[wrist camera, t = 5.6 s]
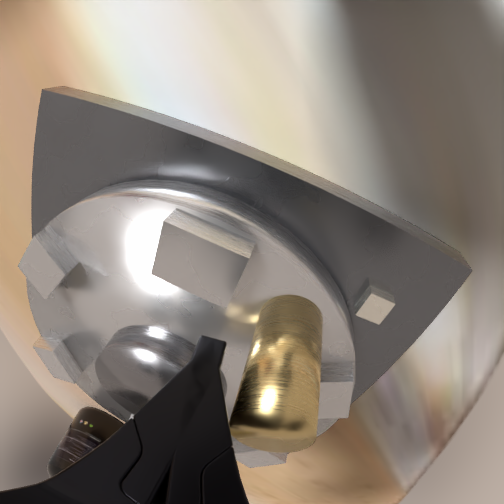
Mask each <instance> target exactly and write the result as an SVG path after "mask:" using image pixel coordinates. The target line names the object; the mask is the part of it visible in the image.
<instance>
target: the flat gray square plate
mask: <svg viewBox="0 0 504 504" xmlns="http://www.w3.org/2000/svg"><path fill="white" fill-rule="evenodd" d="M146 179H157V180H174V181H181V182H186V183H190V184H195V185H200V186H205V187H208V188H211V189H213V190H216V191H219V192H222V193H225V194H228V195H230V196H233V197H235V198H237V199H239V200H241V201H243V202H245V203H247V204H249V205H251V206H253V207H255V208H257V209H259V210H261V211H263V212H264V213H266V214H267V215H269V216H270V217H272V218H273V219H274V220H276V221H277V222H279V223H280V224H282V225H283V226H285V227H286V228H288V229H289V230H290V231H291V232H292V233H293V234H294V235H296V236H297V237H298V238H299V239H300V240H301V241H302V242H303V243H304V244H306V245H307V246H308V247H309V248H310V249H311V250H312V251H313V253H314V254H315V255H316V256H317V257H318V259H319V260H320V261H321V262H322V263H323V264H324V266H325V267H326V268H327V269H328V271H329V272H330V274H331V276H332V277H333V279H334V280H335V282H336V284H337V285H338V287H339V289H340V290H341V293H342V295H343V297H344V300H345V302H346V305H347V307H348V310H349V313H350V318H351V323H352V327H353V335H354V349H355V385H354V389H353V393H352V397H351V403H352V402H354V401H355V400H356V399H357V398H358V397H359V396H360V395H361V394H362V393H364V392H365V391H366V390H367V389H368V388H369V387H370V386H371V385H372V384H373V383H374V382H375V381H376V380H377V379H379V378H380V377H381V376H382V375H383V374H384V373H385V372H386V371H387V370H388V369H389V368H390V367H391V366H392V365H393V364H394V363H395V362H396V361H397V360H398V359H399V358H400V357H401V355H402V354H403V353H404V352H405V351H406V350H407V349H408V348H409V347H410V346H411V345H412V344H413V343H414V342H415V341H416V339H417V338H418V337H419V336H420V335H421V334H422V333H423V332H424V330H425V329H426V328H427V327H428V326H429V325H430V324H431V322H432V321H433V320H434V319H435V318H436V317H437V315H438V314H439V313H440V312H441V311H442V309H443V308H444V307H445V306H446V304H447V303H448V302H449V301H450V299H451V298H452V297H453V296H454V294H455V293H456V292H457V290H458V289H459V288H460V287H461V285H462V284H463V283H464V281H465V280H466V278H467V277H468V276H469V274H470V273H471V272H472V269H471V267H470V266H469V264H468V263H467V262H466V260H465V259H464V257H463V256H462V254H461V253H460V252H458V251H457V250H455V249H454V248H452V247H450V246H449V245H447V244H445V243H444V242H442V241H440V240H439V239H437V238H435V237H434V236H432V235H430V234H428V233H427V232H425V231H423V230H422V229H420V228H418V227H416V226H415V225H413V224H411V223H409V222H407V221H406V220H404V219H402V218H400V217H398V216H396V215H395V214H393V213H391V212H389V211H387V210H385V209H383V208H382V207H380V206H378V205H376V204H374V203H372V202H370V201H368V200H366V199H364V198H362V197H360V196H358V195H356V194H354V193H352V192H350V191H348V190H346V189H344V188H342V187H340V186H338V185H336V184H334V183H332V182H330V181H328V180H326V179H324V178H321V177H319V176H317V175H315V174H313V173H311V172H309V171H306V170H304V169H302V168H300V167H297V166H295V165H293V164H291V163H288V162H286V161H284V160H282V159H279V158H277V157H275V156H272V155H270V154H268V153H265V152H263V151H260V150H258V149H255V148H253V147H251V146H248V145H246V144H243V143H241V142H238V141H236V140H233V139H230V138H228V137H225V136H223V135H220V134H217V133H215V132H212V131H209V130H207V129H204V128H201V127H198V126H196V125H193V124H190V123H187V122H184V121H181V120H178V119H176V118H173V117H170V116H167V115H164V114H161V113H157V112H154V111H151V110H148V109H145V108H142V107H138V106H135V105H132V104H129V103H125V102H122V101H118V100H115V99H111V98H108V97H104V96H100V95H97V94H93V93H89V92H85V91H81V90H77V89H73V88H69V87H65V86H60V87H53V88H47V89H42V93H41V99H40V105H39V111H38V118H37V126H36V134H35V144H34V156H33V171H32V239H33V237H34V236H35V235H36V234H38V233H39V232H40V231H42V230H43V229H44V228H45V226H46V225H47V224H48V223H49V222H50V221H52V220H53V219H54V218H55V217H56V216H58V215H59V214H60V213H62V212H63V211H65V210H66V209H68V208H69V207H71V206H73V205H74V204H76V203H77V202H79V201H81V200H82V199H84V198H86V197H87V196H89V195H91V194H93V193H95V192H97V191H99V190H101V189H103V188H105V187H108V186H112V185H115V184H119V183H122V182H126V181H136V180H146ZM288 453H290V452H288ZM288 453H287V454H288Z"/></svg>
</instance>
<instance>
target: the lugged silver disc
mask: <svg viewBox="0 0 504 504" xmlns="http://www.w3.org/2000/svg"><path fill="white" fill-rule="evenodd" d="M18 267H19V268H20V270H21V271H22V272H23V274H24V275H25V276H26V277H27V279H26V281H27V293H28V299H29V303H30V308H31V311H32V314H33V317H34V320H35V323H36V325H37V328H38V330H39V332H40V334H41V337H40V338H39V339H38V340H37V341H36V342H35V344H34V345H33V348H34V349H35V351H36V352H37V354H38V355H39V357H40V358H41V360H42V361H43V363H44V364H45V366H46V367H47V368H48V370H49V371H50V373H51V374H52V376H53V377H55V378H58V379H61V380H64V381H68V382H71V383H74V384H75V383H76V384H77V385H78V386H79V387H80V388H81V389H82V390H83V391H84V392H85V393H86V394H88V395H89V396H90V397H91V398H92V399H93V400H95V401H96V402H97V403H98V404H100V405H101V406H102V407H103V408H105V409H106V410H108V411H109V412H111V413H112V414H113V415H115V416H116V417H118V418H120V419H121V420H123V421H125V422H127V421H128V420H129V419H130V418H133V416H134V415H135V414H136V413H137V412H138V411H139V410H140V409H141V408H142V407H143V406H144V405H145V404H146V403H147V402H148V401H149V400H150V399H151V398H152V397H153V396H154V395H155V394H157V393H158V392H159V391H160V390H161V389H162V388H163V387H164V386H165V385H166V384H167V383H168V382H169V381H170V380H171V379H172V378H173V377H174V376H175V375H176V374H177V373H178V372H179V371H180V370H181V369H182V368H183V367H184V366H185V365H186V364H187V363H188V362H189V361H190V359H191V356H192V354H193V351H194V349H195V346H196V344H197V342H198V339H199V337H200V336H201V335H204V336H208V337H212V338H216V339H219V340H223V341H226V342H227V346H226V350H225V354H224V359H223V363H222V367H221V371H220V374H221V380H222V386H223V392H224V398H225V404H226V409H227V415H228V421H229V426H230V432H231V437H232V442H233V446H232V447H233V448H234V452H235V457H236V460H237V461H239V462H241V463H242V464H244V465H246V466H247V467H249V468H253V467H261V466H269V465H276V464H283V463H286V458H287V453H288V452H295V451H300V450H303V449H305V448H308V447H309V446H311V445H312V444H313V443H314V442H315V440H316V437H318V436H319V435H321V434H322V433H324V432H325V431H327V430H328V429H329V428H330V427H331V426H332V425H333V424H334V423H335V422H336V421H337V420H338V419H339V418H348V417H349V411H350V404H351V397H352V393H353V389H354V385H355V349H354V335H353V327H352V323H351V318H350V313H349V310H348V307H347V305H346V302H345V300H344V297H343V295H342V293H341V290H340V289H339V287H338V285H337V284H336V282H335V280H334V279H333V277H332V276H331V274H330V272H329V271H328V269H327V268H326V267H325V266H324V264H323V263H322V262H321V261H320V260H319V259H318V257H317V256H316V255H315V254H314V253H313V251H312V250H311V249H310V248H309V247H308V246H307V245H306V244H304V243H303V242H302V241H301V240H300V239H299V238H298V237H297V236H296V235H294V234H293V233H292V232H291V231H290V230H289V229H288V228H286V227H285V226H283V225H282V224H280V223H279V222H277V221H276V220H274V219H273V218H272V217H270V216H269V215H267V214H266V213H264V212H263V211H261V210H259V209H257V208H255V207H253V206H251V205H249V204H247V203H245V202H243V201H241V200H239V199H237V198H235V197H233V196H230V195H228V194H225V193H222V192H219V191H216V190H213V189H211V188H208V187H205V186H200V185H195V184H190V183H186V182H181V181H174V180H157V179H146V180H136V181H126V182H122V183H119V184H115V185H112V186H108V187H105V188H103V189H101V190H99V191H97V192H95V193H93V194H91V195H89V196H87V197H86V198H84V199H82V200H81V201H79V202H77V203H76V204H74V205H73V206H71V207H69V208H68V209H66V210H65V211H63V212H62V213H60V214H59V215H58V216H56V217H55V218H54V219H53V220H52V221H50V222H49V223H48V224H47V225H46V226H45V228H44V229H43V230H42V231H40V232H39V233H38V234H36V235H35V236H34V237H33V239H32V240H31V242H30V244H29V246H28V248H27V249H26V251H25V253H24V255H23V257H22V259H21V261H20V263H19V265H18Z"/></svg>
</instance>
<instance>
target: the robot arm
mask: <svg viewBox="0 0 504 504" xmlns="http://www.w3.org/2000/svg"><path fill="white" fill-rule="evenodd" d="M226 346H227V342H226V341H223V340H219V339H216V338H212V337H208V336H204V335H201V336H200V337H199V339H198V342H197V344H196V346H195V349H194V351H193V354H192V356H191V359H190V361H189V362H188V363H187V364H186V365H185V366H184V367H183V368H182V369H181V370H180V371H179V372H178V373H177V374H176V375H175V376H174V377H173V378H172V379H171V380H170V381H169V382H168V383H167V384H166V385H165V386H164V387H163V388H162V389H161V390H160V391H159V392H158V393H157V394H155V395H154V396H153V397H152V398H151V399H150V400H149V401H148V402H147V403H146V404H145V405H144V406H143V407H142V408H141V409H140V410H139V411H138V412H137V413H136V414H135V415H134V416H133V418H130V419H129V420H128V421H127V422H126V423H125V424H124V425H123V426H122V427H121V428H120V429H119V430H118V431H116V432H115V433H114V434H113V435H112V436H111V437H110V438H108V439H107V440H106V441H104V442H103V443H102V444H100V445H99V446H98V447H96V448H95V449H94V450H92V451H91V452H89V453H88V454H87V455H85V456H84V457H82V458H81V459H79V460H78V461H76V462H75V463H73V464H72V465H70V466H69V467H67V468H66V469H64V470H62V471H61V472H59V473H58V474H56V475H54V476H53V477H51V478H49V479H47V480H45V481H42V482H39V483H37V484H33V485H29V486H24V487H20V488H15V489H10V490H5V491H0V504H249V502H248V499H247V496H246V493H245V490H244V487H243V484H242V481H241V478H240V474H239V470H238V466H237V462H236V457H235V452H234V448H233V447H232V446H233V442H232V437H231V432H230V426H229V421H228V415H227V409H226V404H225V398H224V392H223V386H222V380H221V374H220V371H221V367H222V363H223V359H224V354H225V350H226Z"/></svg>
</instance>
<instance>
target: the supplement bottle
mask: <svg viewBox="0 0 504 504" xmlns="http://www.w3.org/2000/svg"><path fill="white" fill-rule="evenodd" d="M123 425H124V424H122V423H121V422H120V421H118V420H117V419H116V418H114V417H112V416H111V415H109V414H107V413H105V412H103V411H101V410H98V409H96V408H92V407H84V408H82V409H80V411H79V412H78V414H77V415H76V417H75V418H74V420H73V422H72V423H71V425H70V427H69V428H68V430H67V431H66V433H65V435H64V436H63V438H62V440H61V441H60V443H59V445H58V447H57V448H56V450H55V451H54V453H53V455H52V457H51V458H50V460H49V462H48V464H47V471H48V474H49V476H50V478H51V477H53V476H54V475H56V474H58V473H59V472H61V471H62V470H64V469H66V468H67V467H69V466H70V465H72V464H73V463H75V462H76V461H78V460H79V459H81V458H82V457H84V456H85V455H87V454H88V453H89V452H91V451H92V450H94V449H95V448H96V447H98V446H99V445H100V444H102V443H103V442H104V441H106V440H107V439H108V438H110V437H111V436H112V435H113V434H114V433H115V432H116V431H118V430H119V429H120V428H121V427H122V426H123Z"/></svg>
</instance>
